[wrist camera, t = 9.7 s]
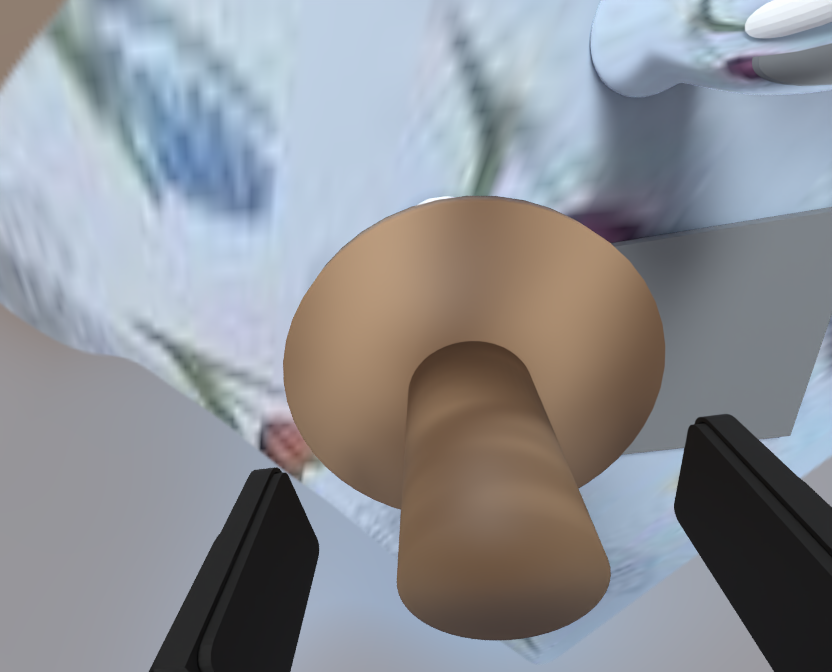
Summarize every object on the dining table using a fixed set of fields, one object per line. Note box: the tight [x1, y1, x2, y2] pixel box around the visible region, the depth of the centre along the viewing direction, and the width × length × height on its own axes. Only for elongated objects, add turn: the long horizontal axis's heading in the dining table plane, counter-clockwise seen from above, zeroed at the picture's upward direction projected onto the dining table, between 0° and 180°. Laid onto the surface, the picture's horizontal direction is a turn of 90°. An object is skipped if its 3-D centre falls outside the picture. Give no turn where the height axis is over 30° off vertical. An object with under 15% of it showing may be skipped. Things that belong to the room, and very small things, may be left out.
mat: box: [611, 207, 832, 455], centre depth 29 cm, size 18×18×1 cm
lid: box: [283, 196, 665, 640], centre depth 11 cm, size 12×12×7 cm
